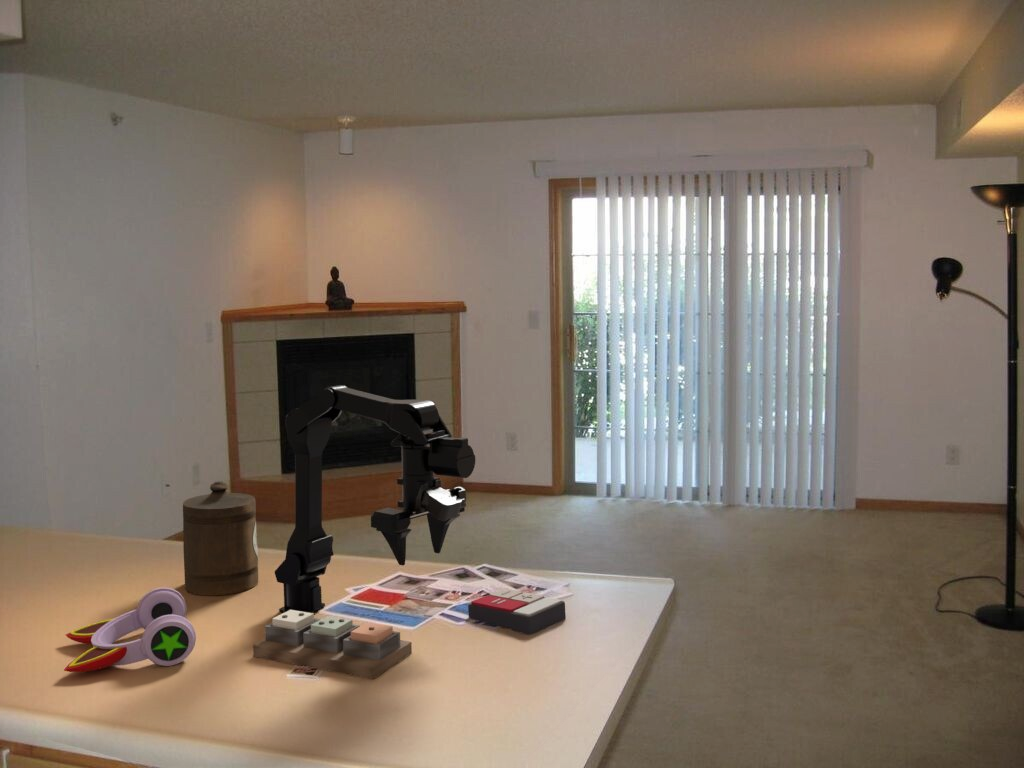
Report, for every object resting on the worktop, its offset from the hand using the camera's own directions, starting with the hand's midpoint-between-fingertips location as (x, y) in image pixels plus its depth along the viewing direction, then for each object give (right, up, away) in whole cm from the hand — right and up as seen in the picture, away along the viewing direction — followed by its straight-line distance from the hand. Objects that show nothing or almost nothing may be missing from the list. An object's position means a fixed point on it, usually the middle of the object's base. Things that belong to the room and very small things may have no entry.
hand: (419, 558), depth 177 cm
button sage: (-14, -11, -8) cm, 20 cm away
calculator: (+17, -13, +10) cm, 24 cm away
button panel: (-14, -15, -8) cm, 22 cm away
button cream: (-21, -11, -5) cm, 25 cm away
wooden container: (-44, -11, +32) cm, 56 cm away
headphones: (-50, -16, -5) cm, 52 cm away
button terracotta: (-7, -12, -11) cm, 18 cm away
